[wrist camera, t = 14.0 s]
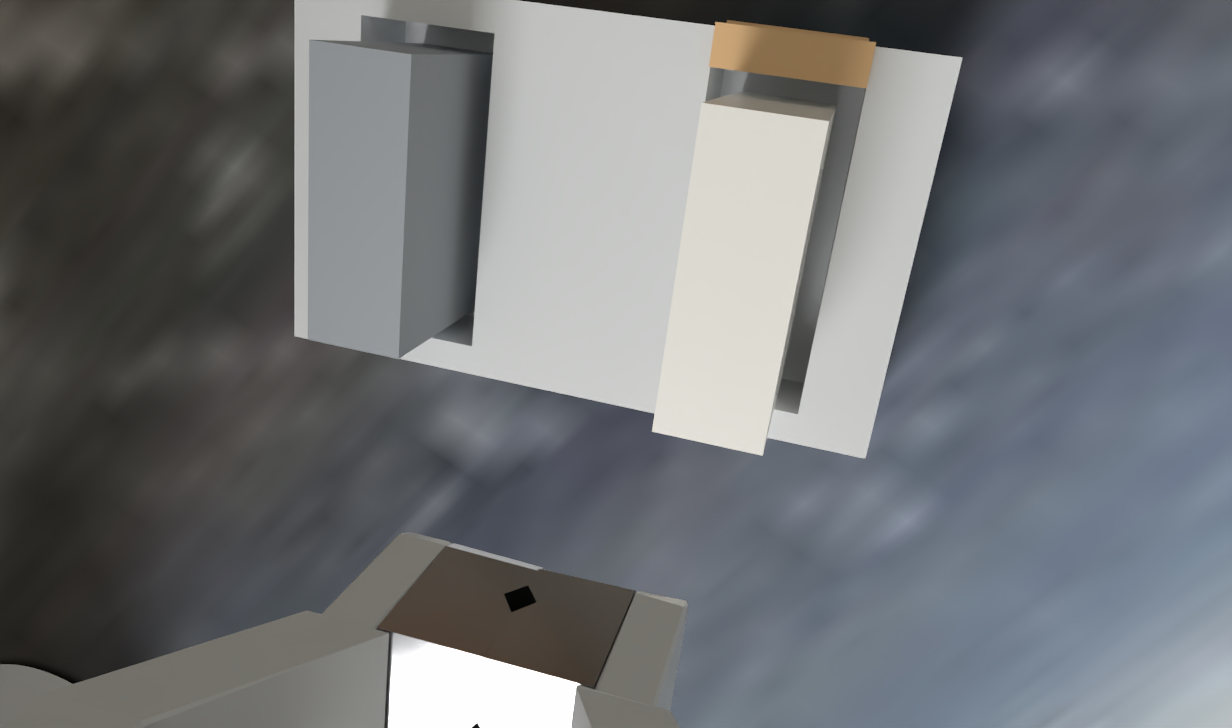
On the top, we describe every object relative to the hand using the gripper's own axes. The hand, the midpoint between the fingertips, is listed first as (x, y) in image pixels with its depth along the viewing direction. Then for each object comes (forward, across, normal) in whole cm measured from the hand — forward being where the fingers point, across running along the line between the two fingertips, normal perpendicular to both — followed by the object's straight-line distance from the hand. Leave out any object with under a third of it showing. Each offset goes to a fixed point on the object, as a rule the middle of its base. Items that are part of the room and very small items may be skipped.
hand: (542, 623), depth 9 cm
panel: (+23, 0, 0) cm, 23 cm away
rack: (+24, -5, 0) cm, 24 cm away
